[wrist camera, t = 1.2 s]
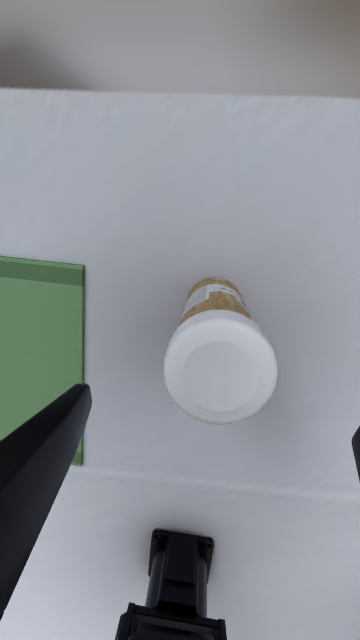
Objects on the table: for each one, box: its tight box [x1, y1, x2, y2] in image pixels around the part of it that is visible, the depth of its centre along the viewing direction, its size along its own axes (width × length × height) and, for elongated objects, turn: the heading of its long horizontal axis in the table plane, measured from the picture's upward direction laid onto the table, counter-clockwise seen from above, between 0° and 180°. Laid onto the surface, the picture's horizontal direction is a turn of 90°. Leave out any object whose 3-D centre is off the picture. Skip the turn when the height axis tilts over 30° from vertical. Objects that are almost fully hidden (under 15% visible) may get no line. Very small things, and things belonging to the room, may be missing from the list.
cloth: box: [0, 256, 84, 466], centre depth 27 cm, size 20×11×1 cm, turn 174°
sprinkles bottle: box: [163, 278, 278, 424], centre depth 18 cm, size 5×5×13 cm
